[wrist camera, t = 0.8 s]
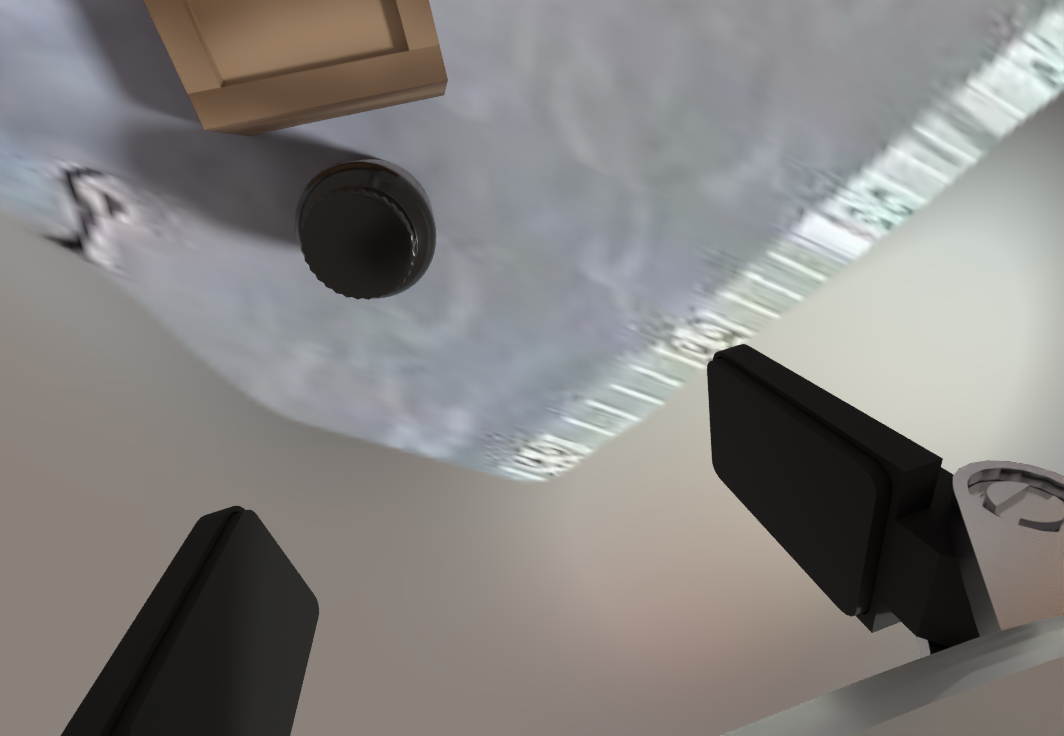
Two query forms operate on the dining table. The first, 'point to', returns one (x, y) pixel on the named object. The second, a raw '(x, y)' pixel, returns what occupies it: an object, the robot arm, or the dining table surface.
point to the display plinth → (298, 58)
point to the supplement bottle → (366, 228)
